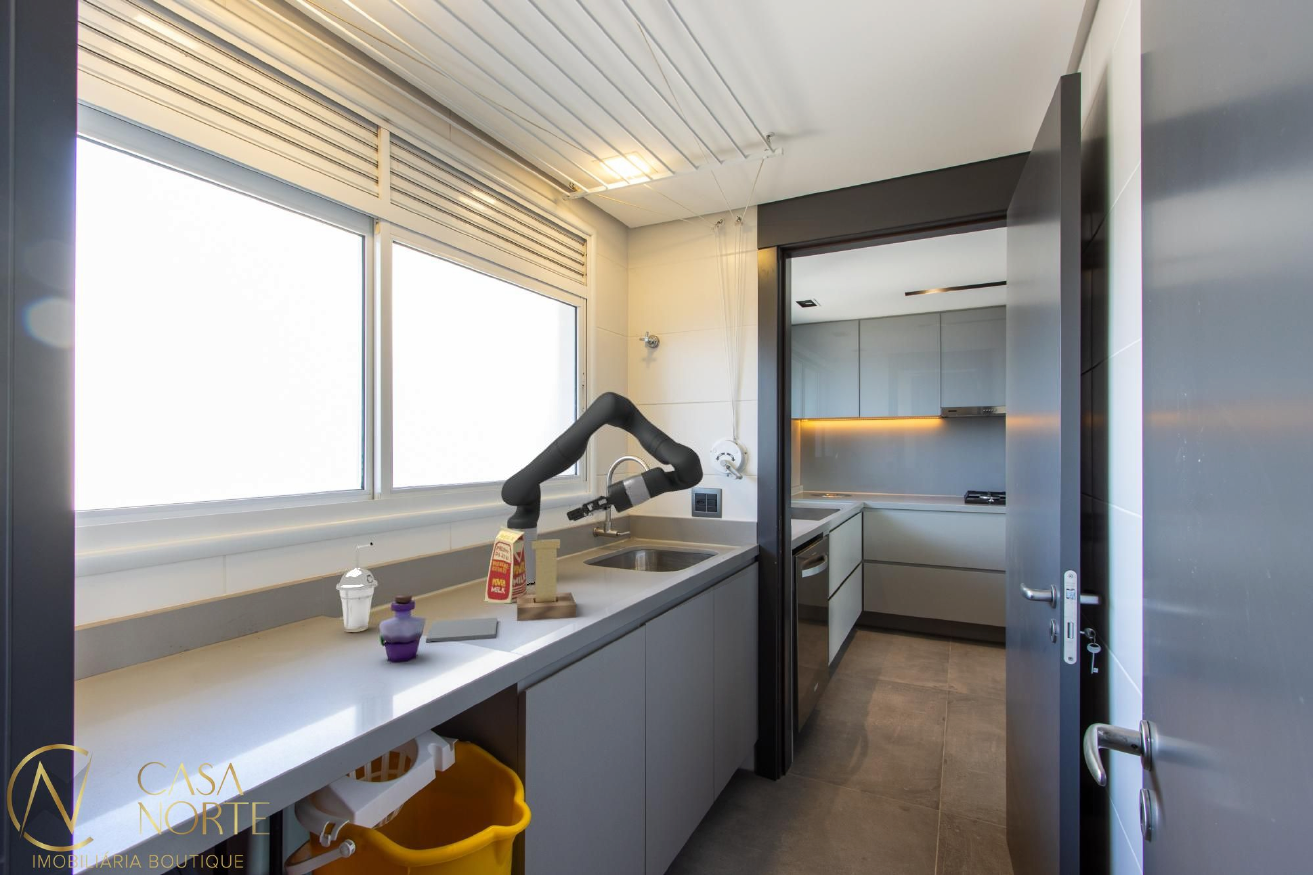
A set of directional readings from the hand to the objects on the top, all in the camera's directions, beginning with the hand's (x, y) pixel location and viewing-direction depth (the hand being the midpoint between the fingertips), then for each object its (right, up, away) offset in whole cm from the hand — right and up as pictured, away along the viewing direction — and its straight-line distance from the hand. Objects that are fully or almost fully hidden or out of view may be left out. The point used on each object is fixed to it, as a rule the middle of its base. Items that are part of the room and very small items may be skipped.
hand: (570, 517), depth 152 cm
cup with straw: (-46, -23, -17) cm, 54 cm away
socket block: (-6, -24, -1) cm, 24 cm away
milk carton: (-19, -25, +13) cm, 34 cm away
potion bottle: (-27, -22, -36) cm, 51 cm away
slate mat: (-21, -23, -18) cm, 36 cm away
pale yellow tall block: (-6, -24, -1) cm, 24 cm away
